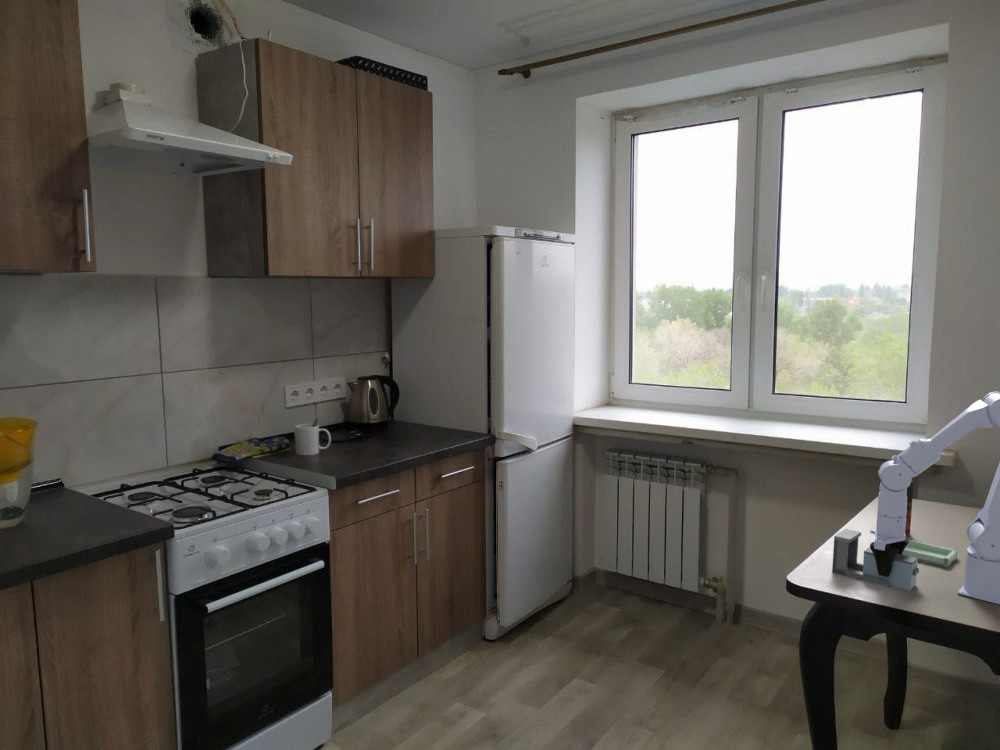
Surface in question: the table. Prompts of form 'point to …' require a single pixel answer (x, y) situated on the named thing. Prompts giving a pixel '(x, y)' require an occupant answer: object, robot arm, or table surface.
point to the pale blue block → (894, 569)
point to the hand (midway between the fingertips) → (887, 572)
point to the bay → (850, 557)
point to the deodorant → (909, 508)
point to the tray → (930, 553)
